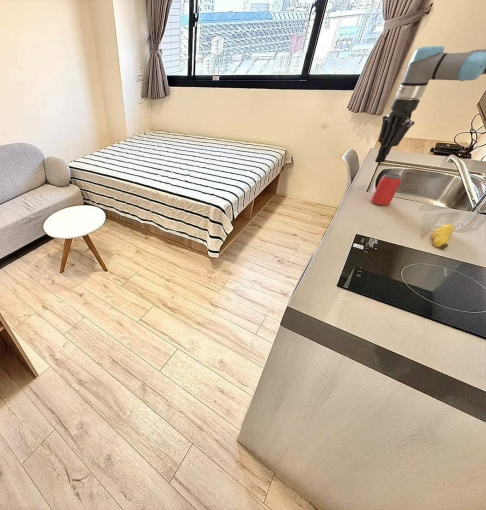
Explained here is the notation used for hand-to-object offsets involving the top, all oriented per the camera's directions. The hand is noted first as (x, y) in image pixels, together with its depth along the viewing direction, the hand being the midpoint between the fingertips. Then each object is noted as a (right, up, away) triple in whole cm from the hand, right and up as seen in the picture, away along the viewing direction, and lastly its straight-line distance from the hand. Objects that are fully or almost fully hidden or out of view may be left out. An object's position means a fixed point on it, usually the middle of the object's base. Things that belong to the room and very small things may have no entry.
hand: (379, 161), depth 116 cm
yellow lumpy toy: (+2, -34, -21) cm, 40 cm away
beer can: (+1, -17, +1) cm, 18 cm away
